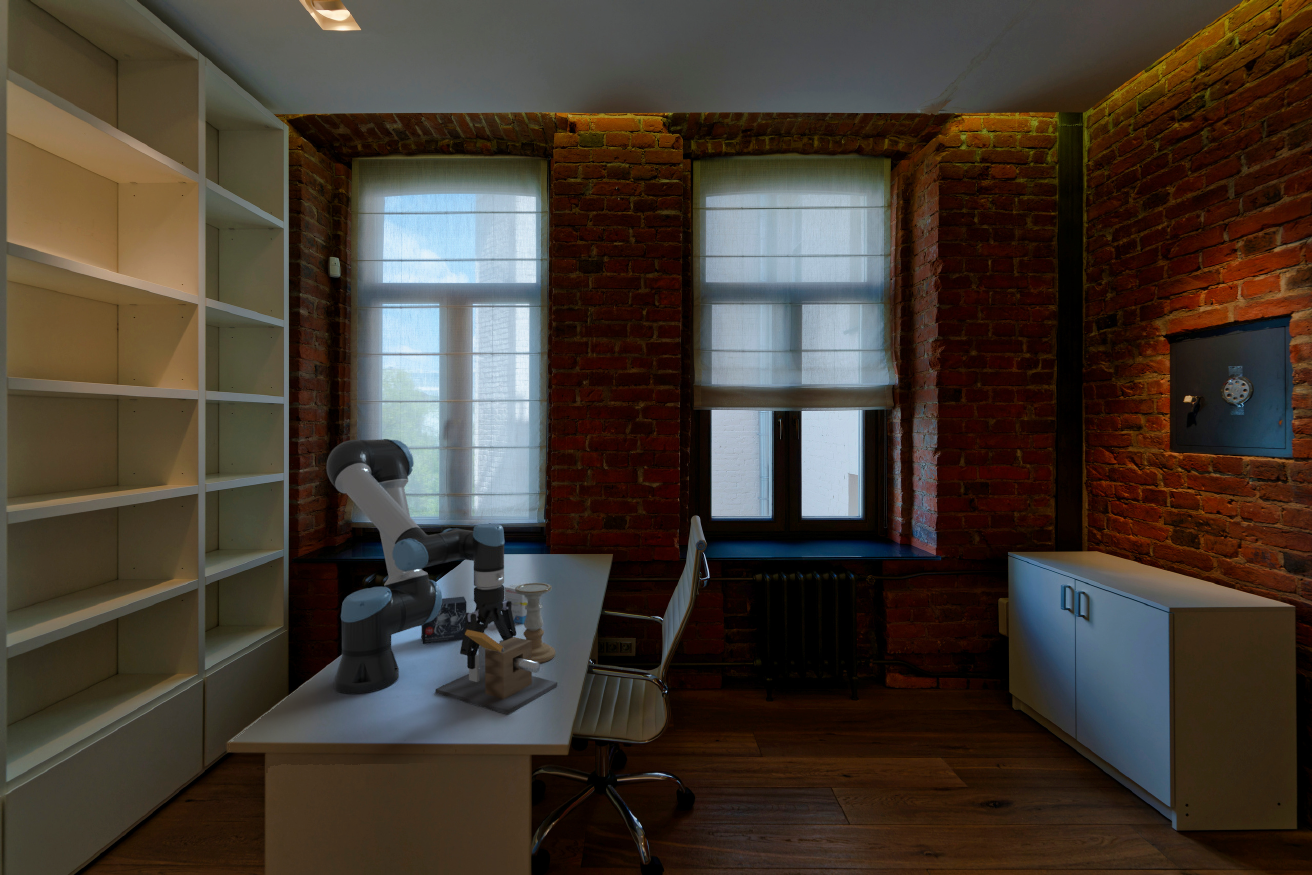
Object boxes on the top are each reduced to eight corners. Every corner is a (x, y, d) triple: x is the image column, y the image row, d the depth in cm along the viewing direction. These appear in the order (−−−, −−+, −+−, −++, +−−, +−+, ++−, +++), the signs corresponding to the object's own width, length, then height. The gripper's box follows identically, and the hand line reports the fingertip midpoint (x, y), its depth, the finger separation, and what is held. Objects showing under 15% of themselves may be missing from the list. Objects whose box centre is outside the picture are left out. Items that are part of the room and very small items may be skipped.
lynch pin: (475, 669, 154) (475, 645, 154) (489, 662, 159) (489, 639, 159) (529, 683, 146) (529, 658, 146) (543, 676, 150) (543, 651, 150)
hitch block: (435, 692, 152) (435, 644, 152) (488, 668, 168) (488, 624, 168) (507, 714, 140) (507, 662, 140) (557, 686, 156) (557, 639, 156)
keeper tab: (464, 634, 143) (467, 629, 144) (485, 649, 149) (488, 644, 150) (482, 638, 141) (484, 633, 141) (502, 653, 146) (505, 648, 147)
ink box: (539, 617, 213) (539, 584, 213) (522, 624, 206) (521, 590, 206) (521, 613, 218) (521, 581, 218) (504, 620, 211) (503, 586, 210)
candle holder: (510, 665, 170) (509, 593, 170) (513, 650, 182) (513, 582, 182) (555, 662, 172) (554, 591, 171) (555, 647, 184) (555, 580, 184)
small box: (422, 645, 187) (421, 606, 186) (420, 638, 193) (420, 600, 193) (467, 638, 192) (466, 601, 192) (464, 632, 198) (464, 595, 198)
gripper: (465, 598, 144) (466, 692, 144) (530, 577, 163) (530, 661, 163) (443, 594, 147) (444, 686, 148) (509, 574, 167) (509, 656, 167)
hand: (489, 672), depth 155 cm, fingers open, 10 cm apart
